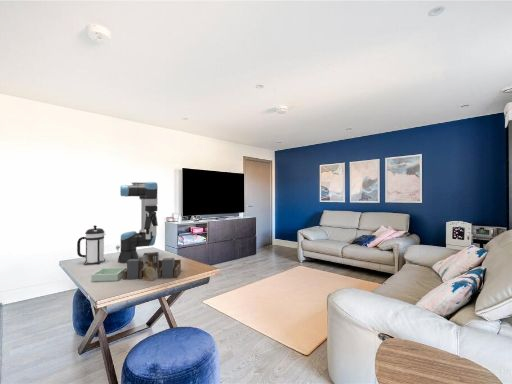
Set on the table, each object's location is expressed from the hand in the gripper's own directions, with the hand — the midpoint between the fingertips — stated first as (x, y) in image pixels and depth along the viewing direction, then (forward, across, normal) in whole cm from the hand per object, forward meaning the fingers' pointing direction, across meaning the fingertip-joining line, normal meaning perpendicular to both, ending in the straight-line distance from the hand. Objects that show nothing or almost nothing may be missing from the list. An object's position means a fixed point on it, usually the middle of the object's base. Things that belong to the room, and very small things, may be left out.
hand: (151, 237), depth 165 cm
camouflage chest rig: (+27, -4, 0) cm, 27 cm away
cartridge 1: (+27, 0, -11) cm, 29 cm away
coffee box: (+27, 0, 0) cm, 27 cm away
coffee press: (+27, -39, -56) cm, 73 cm away
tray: (+27, -2, -27) cm, 38 cm away
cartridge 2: (+27, 0, +11) cm, 29 cm away
